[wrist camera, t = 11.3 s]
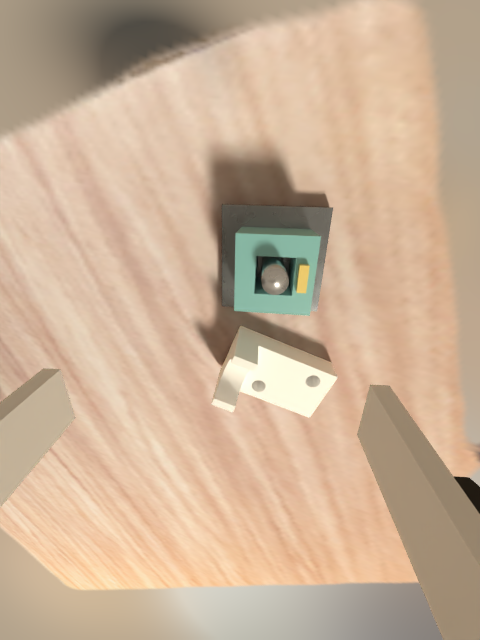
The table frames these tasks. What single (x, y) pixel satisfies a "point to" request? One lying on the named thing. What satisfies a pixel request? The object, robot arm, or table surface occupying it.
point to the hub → (275, 244)
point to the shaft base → (270, 221)
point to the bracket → (272, 374)
